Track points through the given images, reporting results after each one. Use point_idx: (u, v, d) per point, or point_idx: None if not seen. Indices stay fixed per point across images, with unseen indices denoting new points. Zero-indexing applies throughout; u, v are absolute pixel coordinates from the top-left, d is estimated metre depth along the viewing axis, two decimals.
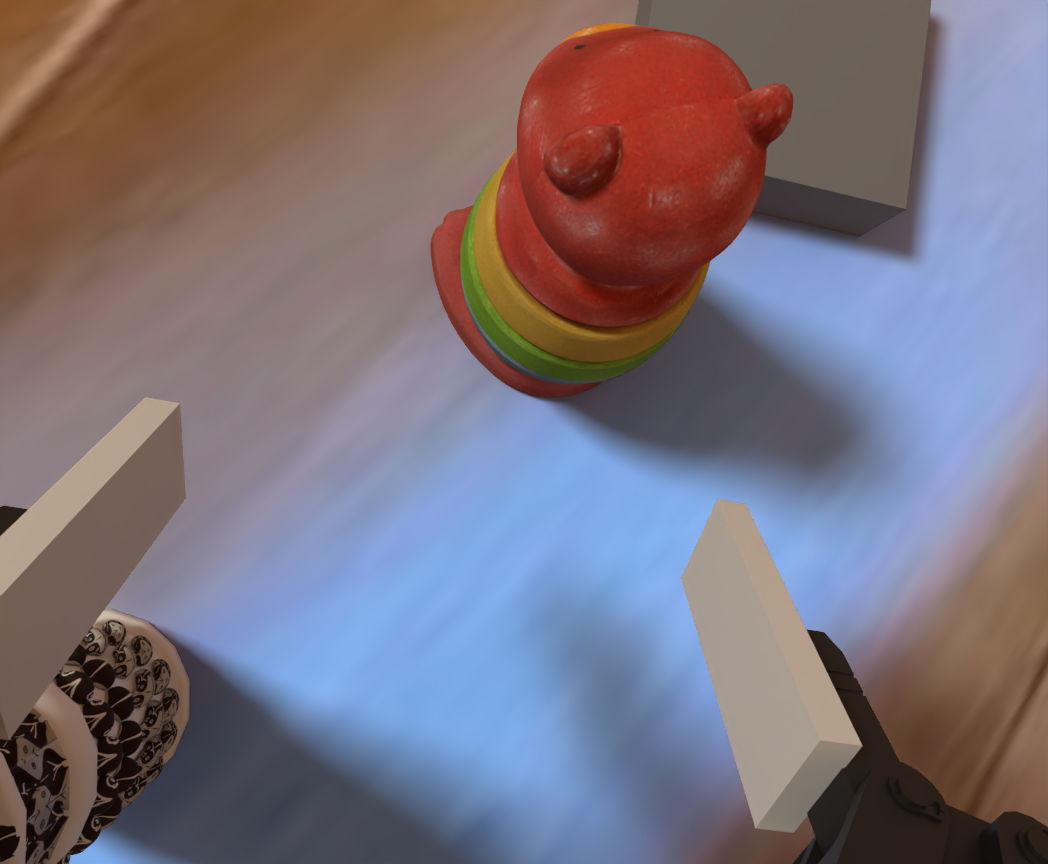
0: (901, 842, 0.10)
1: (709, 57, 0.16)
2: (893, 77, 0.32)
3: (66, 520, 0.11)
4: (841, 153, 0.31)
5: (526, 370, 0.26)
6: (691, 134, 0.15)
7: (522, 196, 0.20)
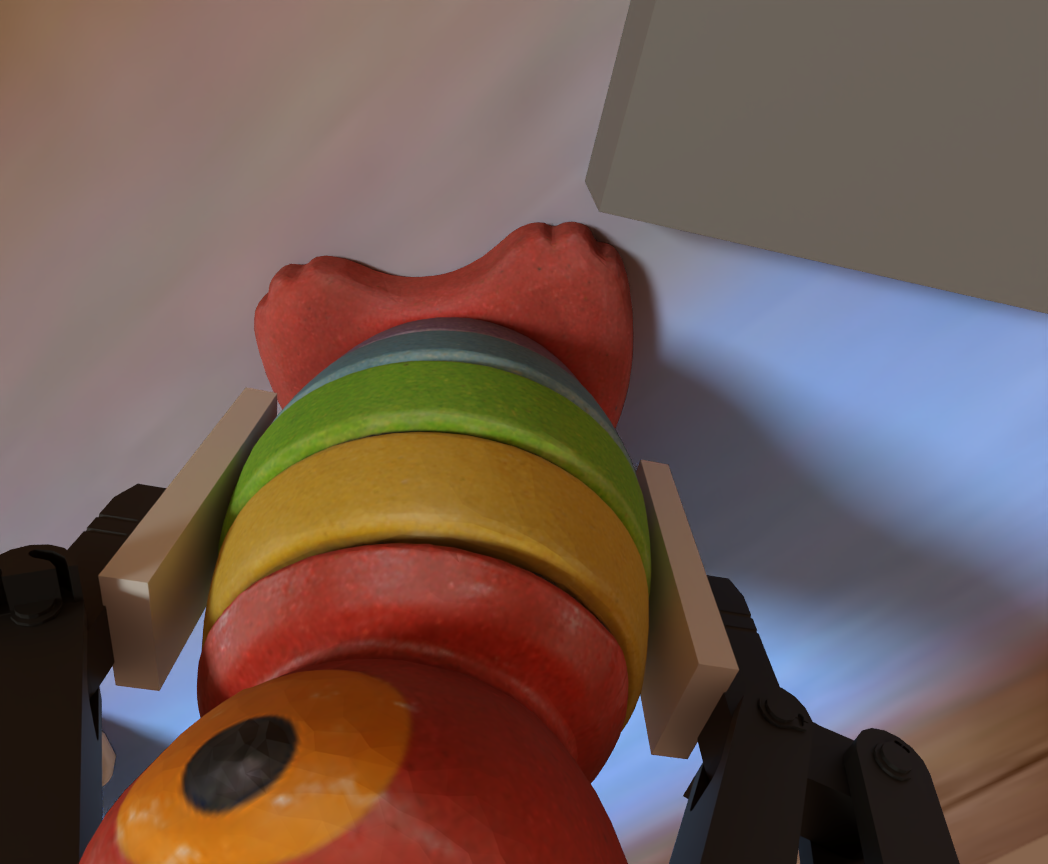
0: (773, 757, 0.10)
1: None
2: None
3: (202, 495, 0.12)
4: None
5: None
6: None
7: None
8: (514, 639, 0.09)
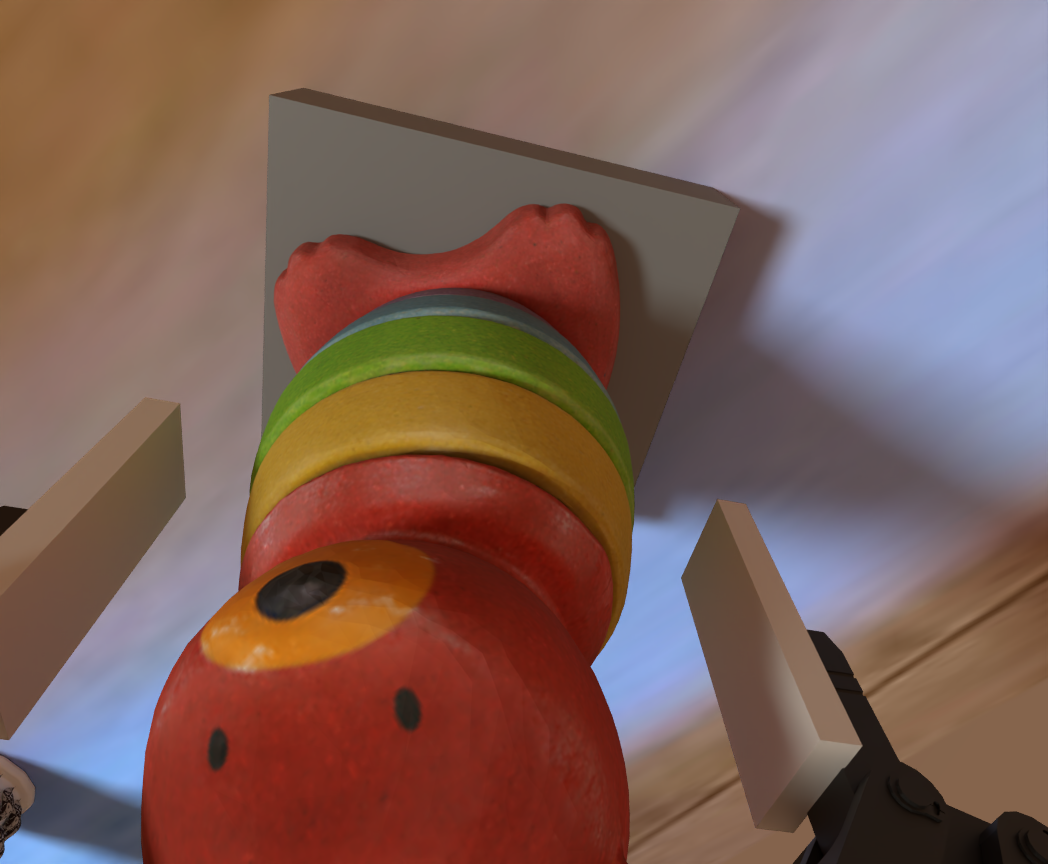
0: (901, 843, 0.10)
1: None
2: (620, 410, 0.23)
3: (66, 520, 0.11)
4: None
5: None
6: None
7: None
8: (515, 534, 0.11)
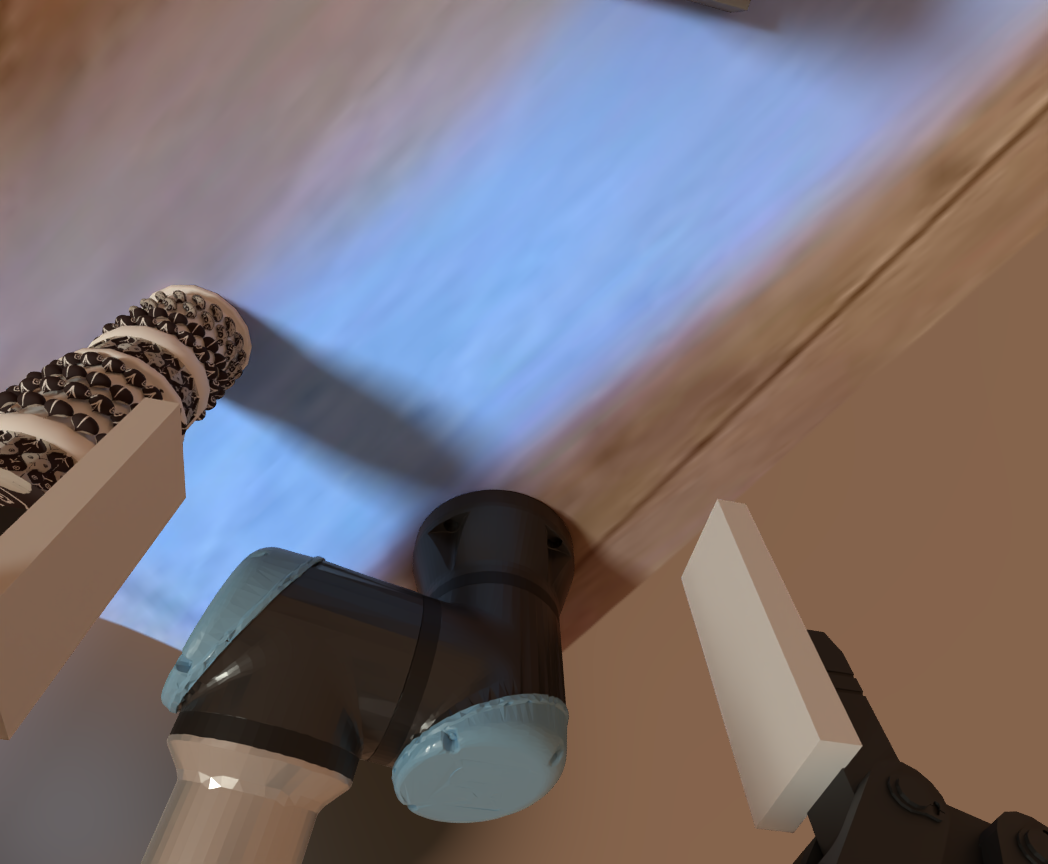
0: (901, 842, 0.10)
1: None
2: None
3: (66, 520, 0.11)
4: None
5: None
6: None
7: None
8: None
